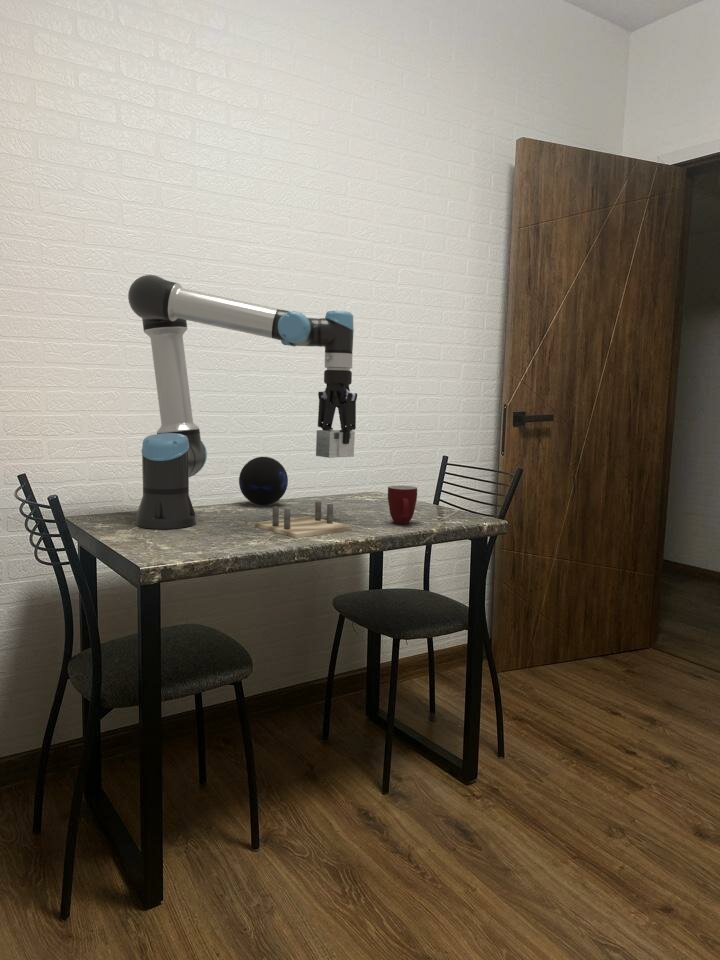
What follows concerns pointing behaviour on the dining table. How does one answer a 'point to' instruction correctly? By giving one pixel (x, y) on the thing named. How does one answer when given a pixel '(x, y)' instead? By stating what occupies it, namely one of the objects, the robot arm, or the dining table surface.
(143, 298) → the robot arm
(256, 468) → the decorative sphere
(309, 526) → the wooden peg board
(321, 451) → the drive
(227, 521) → the dining table surface
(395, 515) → the mug
